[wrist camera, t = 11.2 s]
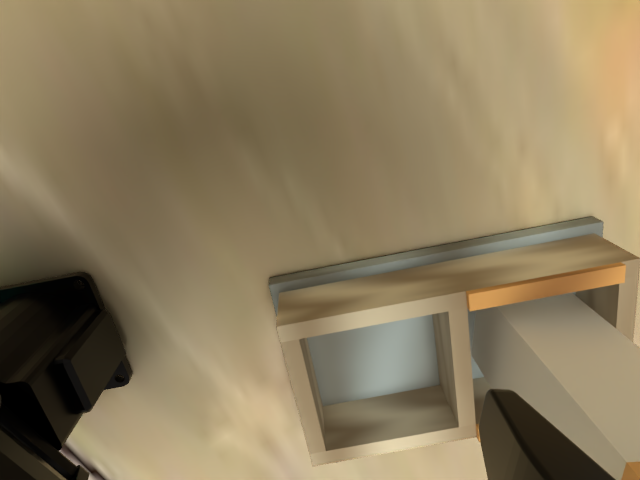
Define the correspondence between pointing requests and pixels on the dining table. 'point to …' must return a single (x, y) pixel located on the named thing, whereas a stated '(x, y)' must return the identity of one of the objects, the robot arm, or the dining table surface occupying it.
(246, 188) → the dining table surface
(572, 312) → the bottle
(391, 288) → the rack
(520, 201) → the dining table surface
